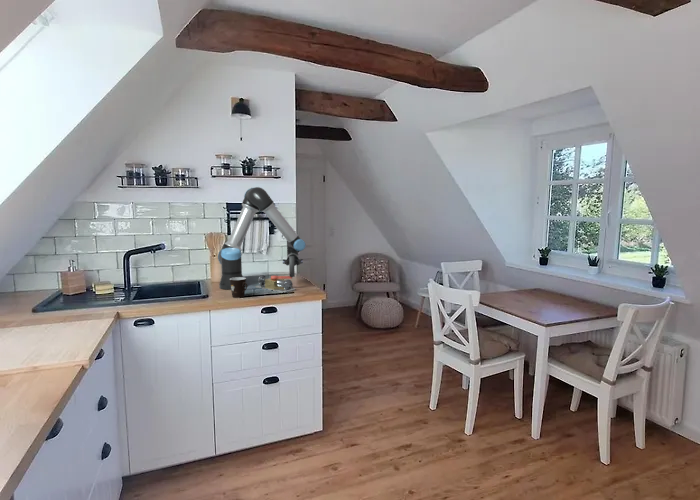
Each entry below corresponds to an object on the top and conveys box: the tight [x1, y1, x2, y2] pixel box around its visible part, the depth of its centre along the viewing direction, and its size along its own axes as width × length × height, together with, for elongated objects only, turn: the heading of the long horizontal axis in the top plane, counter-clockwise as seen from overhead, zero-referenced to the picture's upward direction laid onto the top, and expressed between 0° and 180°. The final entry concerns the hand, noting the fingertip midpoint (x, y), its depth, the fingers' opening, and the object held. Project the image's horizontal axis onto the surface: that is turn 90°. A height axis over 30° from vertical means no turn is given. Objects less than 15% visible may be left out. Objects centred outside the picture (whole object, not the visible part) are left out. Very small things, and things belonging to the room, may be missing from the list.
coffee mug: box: [230, 276, 248, 299], centre depth 222 cm, size 12×9×10 cm
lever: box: [270, 256, 296, 280], centre depth 243 cm, size 14×4×13 cm, turn 89°
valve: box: [254, 275, 296, 294], centre depth 244 cm, size 24×10×7 cm, turn 52°
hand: (292, 265), depth 244 cm, fingers closed
